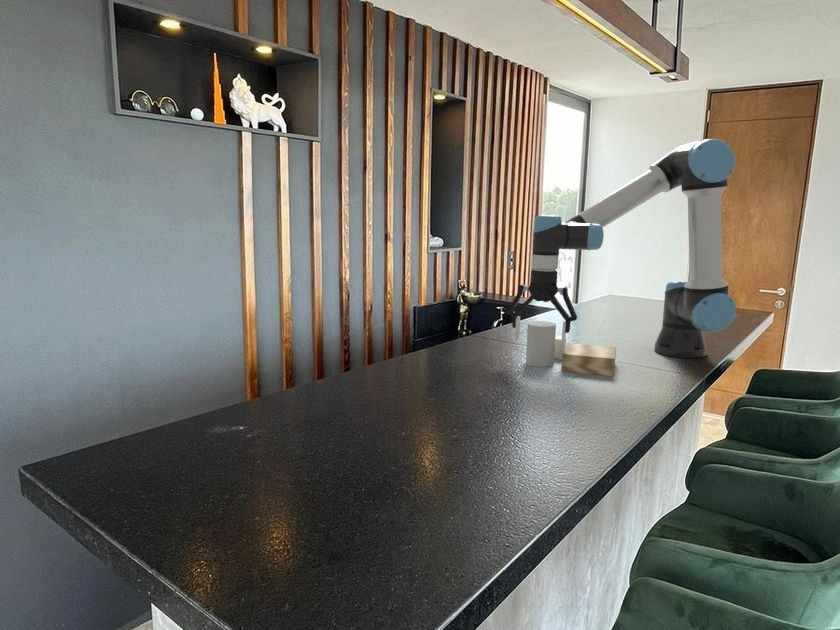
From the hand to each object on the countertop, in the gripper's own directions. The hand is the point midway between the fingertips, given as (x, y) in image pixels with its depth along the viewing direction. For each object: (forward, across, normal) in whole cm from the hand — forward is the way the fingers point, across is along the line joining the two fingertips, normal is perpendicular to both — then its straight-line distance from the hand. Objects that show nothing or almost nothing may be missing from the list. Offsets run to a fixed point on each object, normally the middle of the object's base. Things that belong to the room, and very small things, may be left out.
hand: (539, 341), depth 172 cm
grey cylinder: (+7, 0, 0) cm, 7 cm away
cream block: (+7, -4, -11) cm, 13 cm away
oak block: (+7, -14, -1) cm, 16 cm away
